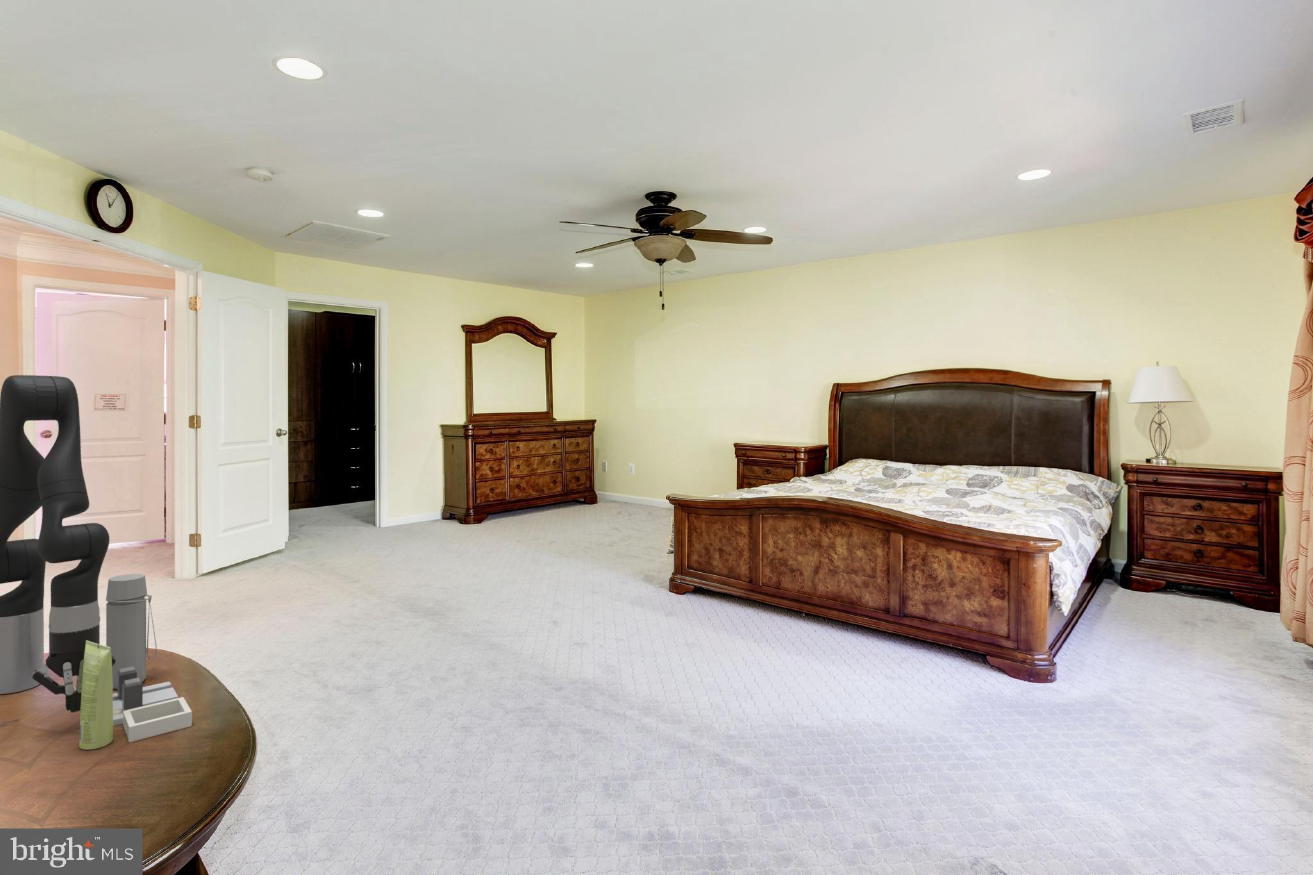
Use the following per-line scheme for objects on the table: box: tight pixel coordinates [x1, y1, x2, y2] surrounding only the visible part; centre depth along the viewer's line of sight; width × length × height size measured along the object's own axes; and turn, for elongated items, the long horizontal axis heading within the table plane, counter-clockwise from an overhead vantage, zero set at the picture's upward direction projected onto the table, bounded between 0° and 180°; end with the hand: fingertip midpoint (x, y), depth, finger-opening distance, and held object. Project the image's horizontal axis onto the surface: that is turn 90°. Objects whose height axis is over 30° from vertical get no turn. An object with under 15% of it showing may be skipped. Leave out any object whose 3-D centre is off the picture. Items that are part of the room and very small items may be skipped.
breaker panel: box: [113, 681, 180, 727], centre depth 142 cm, size 15×12×2 cm
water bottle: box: [105, 573, 158, 690], centre depth 151 cm, size 9×8×25 cm
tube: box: [78, 641, 114, 750], centre depth 125 cm, size 6×5×20 cm
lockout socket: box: [122, 696, 193, 743], centre depth 133 cm, size 9×10×3 cm
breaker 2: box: [122, 678, 144, 711], centre depth 137 cm, size 3×3×6 cm
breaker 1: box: [116, 666, 137, 699], centre depth 143 cm, size 3×3×6 cm
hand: (75, 710), depth 131 cm, fingers closed
